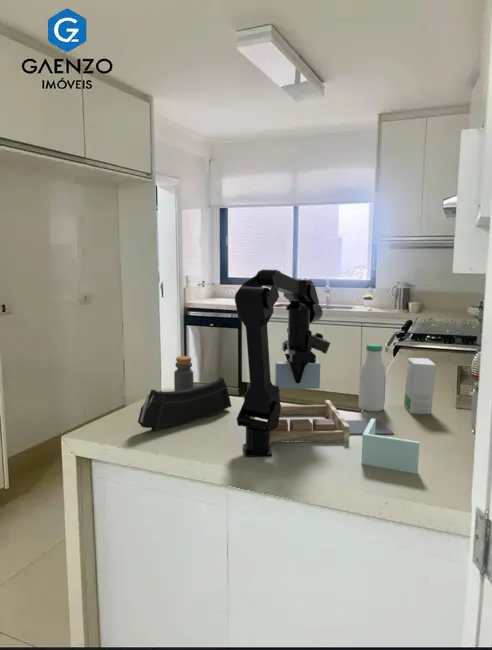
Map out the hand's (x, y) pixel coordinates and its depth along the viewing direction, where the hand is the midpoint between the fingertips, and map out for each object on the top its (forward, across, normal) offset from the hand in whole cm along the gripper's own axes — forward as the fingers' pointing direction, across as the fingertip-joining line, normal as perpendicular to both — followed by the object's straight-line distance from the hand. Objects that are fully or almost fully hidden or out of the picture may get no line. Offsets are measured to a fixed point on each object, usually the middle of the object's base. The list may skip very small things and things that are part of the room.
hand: (297, 381), depth 133 cm
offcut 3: (+12, -10, -6) cm, 16 cm away
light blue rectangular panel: (+2, 0, 0) cm, 2 cm away
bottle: (+12, +18, +32) cm, 39 cm away
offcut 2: (+12, -9, 0) cm, 15 cm away
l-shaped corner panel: (+13, -24, -19) cm, 33 cm away
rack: (+12, -3, 0) cm, 12 cm away
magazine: (+12, +3, +30) cm, 33 cm away
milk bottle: (+12, +13, -26) cm, 31 cm away
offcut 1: (+12, -9, +6) cm, 17 cm away
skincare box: (+12, +11, -40) cm, 43 cm away
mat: (+12, -4, -18) cm, 22 cm away
